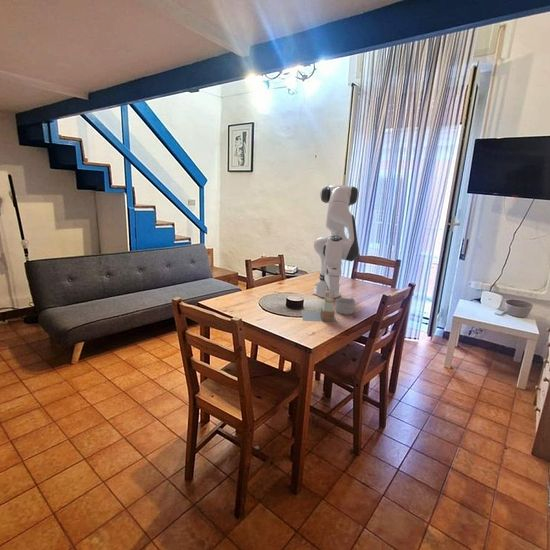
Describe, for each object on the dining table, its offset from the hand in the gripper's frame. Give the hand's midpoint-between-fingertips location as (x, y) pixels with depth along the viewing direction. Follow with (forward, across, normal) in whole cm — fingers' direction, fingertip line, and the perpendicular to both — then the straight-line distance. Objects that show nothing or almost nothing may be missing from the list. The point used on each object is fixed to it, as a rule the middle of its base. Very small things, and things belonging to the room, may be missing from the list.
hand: (329, 293), depth 171 cm
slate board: (+15, -3, -4) cm, 16 cm away
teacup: (+15, -13, +13) cm, 24 cm away
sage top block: (+9, 0, 0) cm, 9 cm away
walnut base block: (+14, 0, 0) cm, 14 cm away
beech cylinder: (+4, 0, 0) cm, 4 cm away
